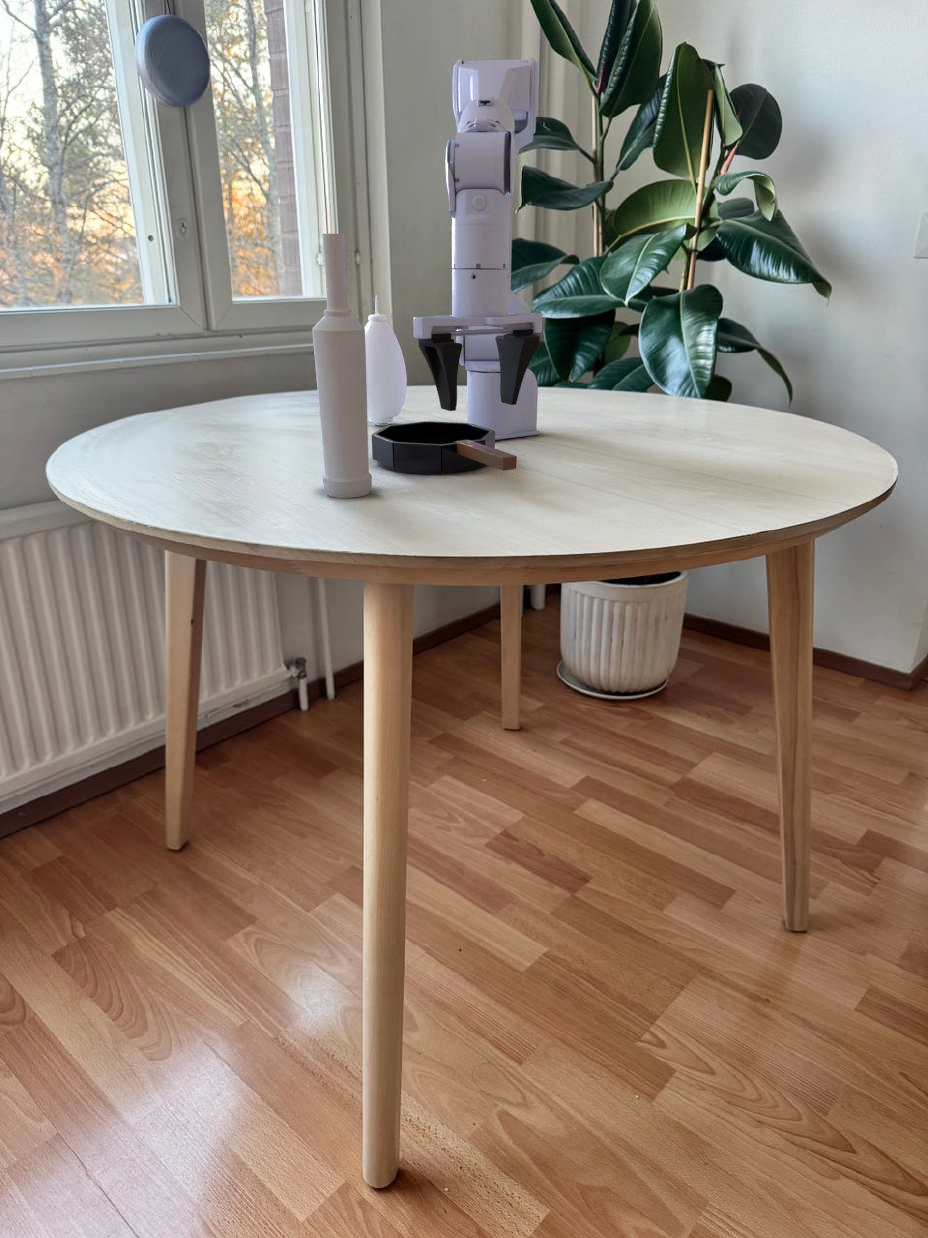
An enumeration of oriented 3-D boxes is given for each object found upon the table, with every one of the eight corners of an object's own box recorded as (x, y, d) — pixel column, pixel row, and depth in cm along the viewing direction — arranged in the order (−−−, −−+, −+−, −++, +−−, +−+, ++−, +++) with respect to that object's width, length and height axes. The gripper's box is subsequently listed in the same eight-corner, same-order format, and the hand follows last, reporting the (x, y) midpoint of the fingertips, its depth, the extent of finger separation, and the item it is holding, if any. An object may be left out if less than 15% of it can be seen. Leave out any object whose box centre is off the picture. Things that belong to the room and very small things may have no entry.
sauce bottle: (352, 420, 127) (345, 293, 119) (402, 418, 128) (399, 293, 121) (358, 430, 120) (351, 296, 112) (412, 427, 121) (408, 295, 114)
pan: (454, 444, 111) (454, 416, 109) (561, 482, 92) (563, 449, 91) (358, 456, 104) (356, 426, 103) (453, 500, 86) (452, 464, 84)
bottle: (325, 486, 91) (307, 234, 81) (372, 485, 91) (361, 234, 81) (321, 499, 86) (302, 232, 76) (372, 497, 86) (359, 233, 76)
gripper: (436, 269, 77) (438, 418, 83) (562, 268, 84) (556, 405, 89) (402, 268, 83) (405, 407, 88) (522, 268, 89) (519, 397, 95)
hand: (479, 406), depth 89 cm, fingers open, 7 cm apart
